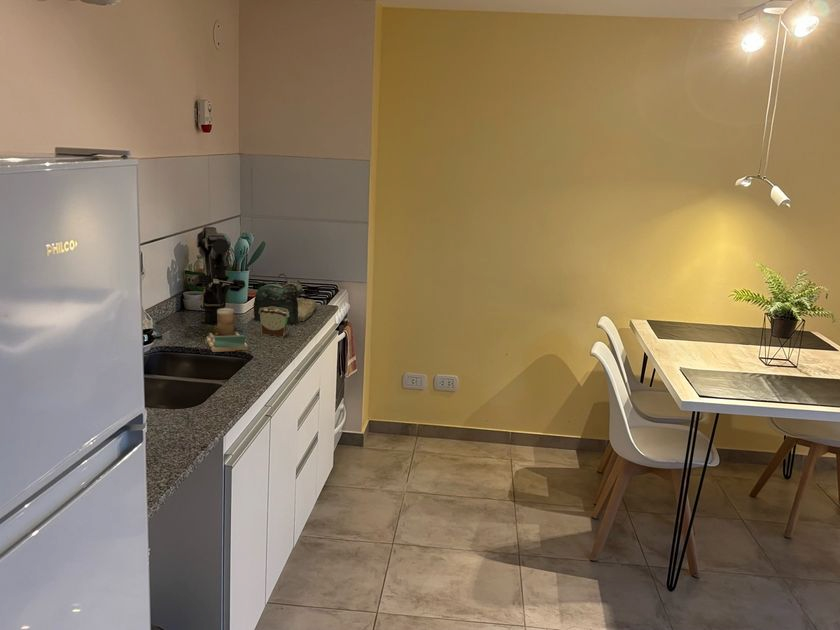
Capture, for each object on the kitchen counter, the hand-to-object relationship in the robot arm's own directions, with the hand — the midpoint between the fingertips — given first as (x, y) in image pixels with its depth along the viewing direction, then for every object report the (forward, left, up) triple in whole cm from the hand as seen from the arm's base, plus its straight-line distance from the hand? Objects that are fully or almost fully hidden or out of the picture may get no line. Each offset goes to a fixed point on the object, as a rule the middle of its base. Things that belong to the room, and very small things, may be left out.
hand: (221, 304), depth 284 cm
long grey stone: (-51, +4, -12) cm, 53 cm away
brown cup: (+8, +8, -10) cm, 15 cm away
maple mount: (+10, +10, -12) cm, 18 cm away
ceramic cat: (-31, +4, -12) cm, 34 cm away
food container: (-14, +15, -12) cm, 24 cm away
